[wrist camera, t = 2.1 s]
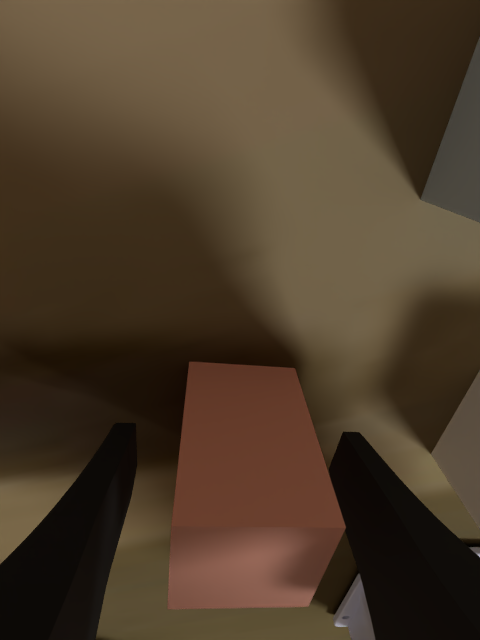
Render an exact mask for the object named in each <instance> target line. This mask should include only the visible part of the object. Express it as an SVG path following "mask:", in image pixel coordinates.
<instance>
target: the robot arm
mask: <svg viewBox="0 0 480 640" xmlns="http://www.w3.org/2000/svg"><path fill="white" fill-rule="evenodd" d="M136 468H137V445H136V423H116V424H114V425H113V427H112V429H111V430H110V432H109V434H108V435H107V437H106V438H105V440H104V441H103V443H102V445H101V446H100V448H99V449H98V450H97V452H96V453H95V455H94V456H93V458H92V459H91V461H90V462H89V463H88V465H87V466H86V467H85V469H84V470H83V471H82V473H81V474H80V475H79V477H78V478H77V479H76V481H75V482H74V483H73V485H72V486H71V487H70V488H69V489H68V491H67V492H66V493H65V494H64V496H63V497H62V498H61V499H60V500H59V502H58V503H57V504H56V505H55V507H54V508H53V509H52V510H51V511H50V512H49V514H48V515H47V516H46V517H45V518H44V519H43V520H42V522H41V523H40V524H39V525H38V526H37V527H36V528H35V529H34V530H33V531H32V532H31V534H30V535H29V536H28V537H27V538H26V539H25V540H24V541H23V542H22V543H21V544H20V545H19V546H18V547H17V548H16V549H15V550H14V551H13V552H12V553H11V554H10V555H9V556H8V557H7V558H6V559H5V560H4V561H3V562H2V563H1V564H0V640H95V639H96V634H97V629H98V624H99V619H100V614H101V609H102V604H103V599H104V594H105V589H106V585H107V581H108V577H109V573H110V569H111V565H112V562H113V559H114V555H115V552H116V548H117V545H118V541H119V538H120V534H121V531H122V527H123V524H124V520H125V517H126V513H127V510H128V506H129V503H130V499H131V495H132V490H133V485H134V479H135V474H136ZM329 473H330V478H331V482H332V486H333V489H334V492H335V495H336V498H337V501H338V504H339V507H340V511H341V514H342V517H343V520H344V523H345V526H346V529H345V532H346V535H347V538H348V541H349V544H350V547H351V549H352V552H353V555H354V558H355V561H356V564H357V567H358V571H359V574H358V575H357V577H356V579H355V581H354V582H353V584H352V586H351V587H350V589H349V591H348V593H347V594H346V596H345V598H344V600H343V601H342V603H341V605H340V607H339V608H338V610H337V612H336V614H335V615H334V617H333V621H334V625H335V626H337V627H348V628H349V632H350V636H351V640H480V547H468V546H467V545H465V544H464V543H463V542H462V541H461V540H460V539H459V538H458V537H457V536H456V535H455V534H453V533H452V532H451V531H450V530H449V529H448V528H447V527H446V526H445V525H444V524H443V523H442V522H441V521H440V520H439V519H438V518H437V517H435V515H434V514H433V513H432V512H431V511H430V510H429V509H428V508H427V507H426V506H425V505H424V504H423V503H422V502H421V501H420V500H419V499H418V498H417V497H416V496H415V495H414V494H413V493H412V492H411V491H410V490H409V489H408V487H407V486H406V485H405V484H404V483H403V482H402V481H401V480H400V479H399V477H398V476H397V475H396V474H395V473H394V472H393V471H392V470H391V468H390V467H389V466H388V465H387V464H386V463H385V461H384V460H383V459H382V458H381V457H380V456H379V455H378V453H377V452H376V451H375V450H374V449H373V447H372V446H371V445H370V444H369V443H368V442H367V440H366V439H365V438H364V437H363V436H362V435H361V434H360V432H343V433H342V436H341V439H340V441H339V444H338V446H337V449H336V452H335V454H334V457H333V460H332V462H331V465H330V467H329Z"/></svg>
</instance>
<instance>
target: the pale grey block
mask: <svg viewBox="0 0 480 640" xmlns="http://www.w3.org/2000/svg"><path fill="white" fill-rule="evenodd" d="M431 455H432V456H433V458H434V459H435V461H436V463H437V464H438V466H439V467H440V469H441V470H442V472H443V473H444V475H445V477H446V478H447V480H448V481H449V483H450V484H451V486H452V487H453V489H454V490H455V492H456V494H457V495H458V497H459V498H460V500H461V501H462V503H463V504H464V506H465V508H466V509H467V511H468V512H469V514H470V515H471V517H472V518H473V520H474V521H475V523H476V525H477V526H478V528H479V529H480V371H479V372H478V374H477V376H476V377H475V379H474V381H473V383H472V384H471V386H470V388H469V389H468V391H467V393H466V395H465V396H464V398H463V400H462V401H461V403H460V405H459V407H458V408H457V410H456V412H455V414H454V415H453V417H452V419H451V420H450V422H449V424H448V426H447V427H446V429H445V431H444V432H443V434H442V436H441V438H440V439H439V441H438V443H437V444H436V446H435V448H434V450H433V451H432V453H431Z"/></svg>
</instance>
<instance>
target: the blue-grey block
mask: <svg viewBox="0 0 480 640" xmlns="http://www.w3.org/2000/svg"><path fill="white" fill-rule="evenodd" d="M420 200H422V201H425V202H428V203H430V204H433V205H436V206H438V207H441V208H443V209H446V210H449V211H451V212H454V213H456V214H459V215H462V216H464V217H467V218H469V219H472V220H475V221H477V222H480V37H479V40H478V43H477V45H476V48H475V51H474V54H473V56H472V59H471V62H470V65H469V67H468V70H467V73H466V76H465V78H464V81H463V84H462V87H461V89H460V92H459V95H458V98H457V100H456V103H455V106H454V109H453V111H452V114H451V117H450V120H449V122H448V125H447V128H446V130H445V133H444V136H443V139H442V141H441V144H440V147H439V150H438V152H437V155H436V158H435V161H434V163H433V166H432V169H431V172H430V174H429V177H428V180H427V183H426V185H425V188H424V191H423V194H422V196H421V199H420Z"/></svg>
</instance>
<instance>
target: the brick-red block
mask: <svg viewBox="0 0 480 640" xmlns="http://www.w3.org/2000/svg"><path fill="white" fill-rule="evenodd" d="M345 529H346V526H345V523H344V520H343V517H342V514H341V511H340V507H339V504H338V501H337V498H336V495H335V492H334V489H333V486H332V482H331V479H330V476H329V473H328V470H327V467H326V464H325V461H324V457H323V454H322V451H321V448H320V445H319V442H318V439H317V436H316V432H315V429H314V426H313V423H312V420H311V417H310V414H309V411H308V407H307V404H306V401H305V398H304V395H303V392H302V389H301V386H300V382H299V379H298V376H297V373H296V370H295V368H286V367H270V366H254V365H238V364H222V363H206V362H190V361H189V369H188V378H187V387H186V396H185V405H184V415H183V424H182V433H181V442H180V451H179V460H178V470H177V479H176V488H175V497H174V506H173V515H172V525H171V544H170V566H169V588H168V609H211V608H265V607H308V606H309V604H310V602H311V600H312V598H313V596H314V593H315V591H316V589H317V587H318V585H319V583H320V581H321V579H322V577H323V575H324V573H325V571H326V568H327V566H328V564H329V562H330V560H331V558H332V556H333V554H334V552H335V550H336V548H337V546H338V543H339V541H340V539H341V537H342V535H343V533H344V531H345Z"/></svg>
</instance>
